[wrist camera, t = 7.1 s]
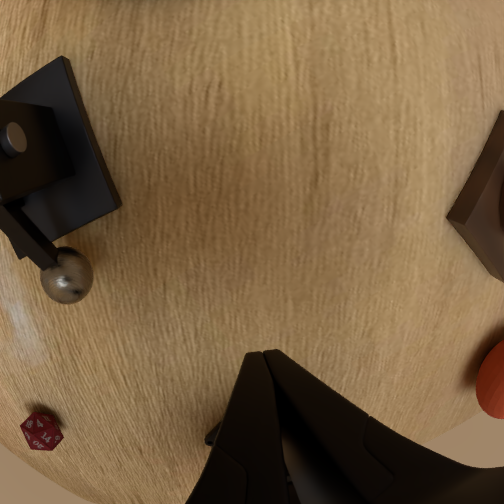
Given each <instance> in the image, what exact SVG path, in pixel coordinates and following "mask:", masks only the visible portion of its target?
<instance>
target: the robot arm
mask: <svg viewBox="0 0 504 504" xmlns="http://www.w3.org/2000/svg"><path fill="white" fill-rule="evenodd" d="M368 417H369V418H368ZM204 440H205V444H206V445H208V446H212V449H211V452H210V454H209V457H208V460H207V462H206V464H205V467H204V469H203V471H202V474H201V476H200V478H199V480H198V482H197V483H196V485H195V487H194V489H193V491H192V493H191V495H190V496H189V498H188V500H187V501H186V503H185V504H504V467H495V468H476V467H470V466H467V465H464V464H461V463H459V462H456V461H454V460H451V459H449V458H447V457H445V456H442V455H441V454H438V453H436V452H434V451H432V450H430V449H428V448H425V447H423V446H421V445H419V444H417V443H415V442H413V441H411V440H410V439H408V438H406V437H404V436H402V435H400V434H398V433H397V432H395V431H393V430H392V429H390V428H389V427H387V426H385V425H384V424H382V423H381V422H379V421H378V420H376V419H375V418H373V417H372V416H369V415H368V414H367V413H366V412H364V411H363V410H361V409H360V408H358V407H357V406H356V405H354V404H353V403H351V402H350V401H348V400H347V399H346V398H344V397H343V396H341V395H340V394H339V393H337V392H336V391H334V390H333V389H332V388H330V387H329V386H327V385H326V384H325V383H323V382H322V381H320V380H319V379H318V378H316V377H315V376H314V375H312V374H311V373H310V372H308V371H307V370H306V369H304V368H303V367H301V366H300V365H299V364H297V363H296V362H295V361H293V360H292V359H291V358H289V357H288V356H287V355H286V354H284V353H283V352H282V351H280V350H278V349H273V350H265V351H263V353H262V352H260V351H257V352H248V353H246V354H245V357H244V360H243V362H242V365H241V368H240V371H239V374H238V377H237V380H236V383H235V385H234V388H233V391H232V394H231V397H230V400H229V402H228V405H227V408H226V411H225V414H224V417H223V419H222V421H221V422H220V423H219V424H218V425H217V426H216V427H215V428H214V429H213V430H212V431H211V432H210V433H209V434H208V435H207V436H206V437H205V439H204Z"/></svg>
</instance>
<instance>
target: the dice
mask: <svg viewBox="0 0 504 504" xmlns="http://www.w3.org/2000/svg"><path fill="white" fill-rule="evenodd" d="M20 427H21V430H22V432H23V434H24V436H25V438H26V440H27V442H28V445H29V447H30V449H33V450H47V451H53V449H54V448H55V447H56V446H57V445H58V444H59V443H60V442H61V440H62V439H63V438H64V437H63V435H62V433H61V431H60V429H59V426H58V424H57V422H56V420H55V418H54V416H53V415H50V414H44V413H38V412H33V413H32V414H31V415H30V416H29V417H28V418H27V419H26V420H25V421H24V422H23V423H22V424H21V425H20Z"/></svg>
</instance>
